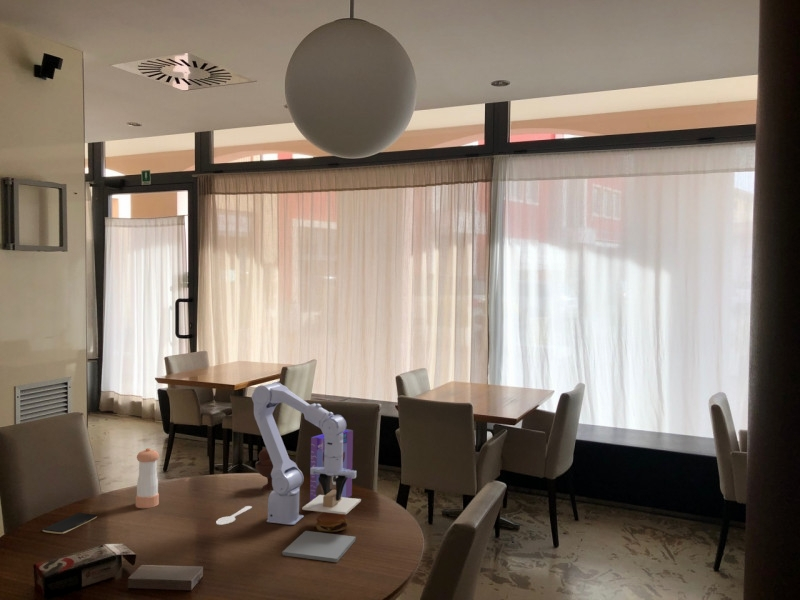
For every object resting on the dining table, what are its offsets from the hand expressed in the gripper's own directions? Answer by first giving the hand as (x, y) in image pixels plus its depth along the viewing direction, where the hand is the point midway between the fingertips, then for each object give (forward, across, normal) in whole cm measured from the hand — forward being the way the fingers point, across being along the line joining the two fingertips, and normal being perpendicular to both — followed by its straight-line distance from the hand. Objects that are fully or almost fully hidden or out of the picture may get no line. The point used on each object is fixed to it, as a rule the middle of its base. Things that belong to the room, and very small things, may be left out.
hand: (332, 499), depth 193 cm
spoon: (+10, -34, +1) cm, 35 cm away
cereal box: (+9, -9, +23) cm, 26 cm away
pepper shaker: (+9, -67, +1) cm, 68 cm away
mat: (+9, +2, -15) cm, 18 cm away
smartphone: (+10, -78, -21) cm, 81 cm away
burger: (+9, 0, 0) cm, 9 cm away
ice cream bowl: (+9, -36, +30) cm, 48 cm away
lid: (+2, 0, 0) cm, 2 cm away
